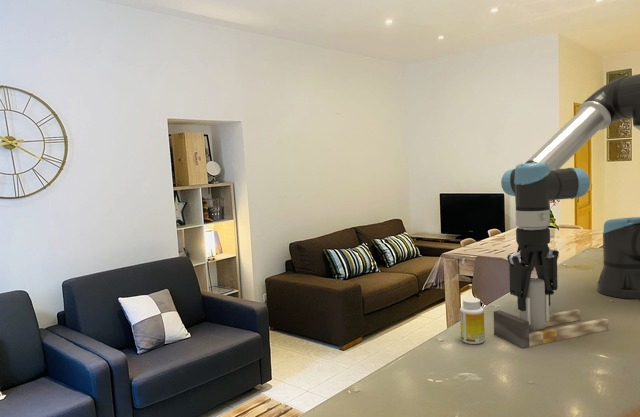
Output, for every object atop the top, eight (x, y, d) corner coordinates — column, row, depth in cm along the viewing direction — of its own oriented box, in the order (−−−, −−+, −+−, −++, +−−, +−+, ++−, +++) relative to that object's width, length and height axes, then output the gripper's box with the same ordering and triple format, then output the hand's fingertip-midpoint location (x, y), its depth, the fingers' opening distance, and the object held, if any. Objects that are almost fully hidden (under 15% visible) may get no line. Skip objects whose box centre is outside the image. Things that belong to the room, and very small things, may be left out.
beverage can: (547, 331, 117) (546, 282, 115) (526, 331, 118) (525, 282, 116) (542, 324, 121) (541, 277, 120) (522, 324, 122) (521, 277, 121)
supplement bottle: (489, 341, 117) (488, 300, 116) (472, 346, 115) (471, 304, 114) (473, 335, 122) (472, 295, 121) (456, 339, 120) (454, 299, 119)
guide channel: (575, 318, 130) (575, 296, 129) (608, 329, 120) (608, 306, 120) (494, 334, 122) (493, 311, 121) (522, 348, 112) (521, 322, 112)
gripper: (512, 232, 111) (515, 332, 113) (574, 225, 116) (575, 319, 118) (491, 229, 118) (494, 322, 120) (550, 222, 123) (551, 311, 126)
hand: (534, 321), depth 119 cm, fingers closed on beverage can, 5 cm apart
